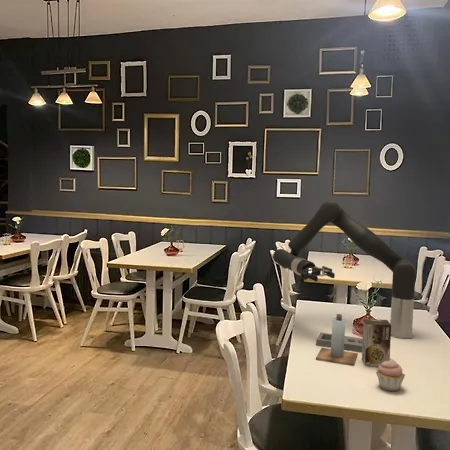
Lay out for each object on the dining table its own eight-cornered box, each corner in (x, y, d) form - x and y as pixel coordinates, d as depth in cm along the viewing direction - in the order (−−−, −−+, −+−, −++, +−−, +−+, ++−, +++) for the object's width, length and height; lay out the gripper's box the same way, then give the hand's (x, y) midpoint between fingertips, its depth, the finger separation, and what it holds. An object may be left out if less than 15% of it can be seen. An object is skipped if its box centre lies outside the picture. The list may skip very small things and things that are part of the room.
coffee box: (385, 361, 181) (387, 319, 179) (389, 367, 174) (392, 324, 173) (360, 359, 182) (363, 318, 180) (364, 366, 175) (366, 323, 174)
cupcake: (380, 379, 164) (382, 350, 163) (408, 387, 158) (410, 357, 157) (370, 387, 157) (371, 358, 156) (398, 396, 151) (400, 366, 150)
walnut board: (357, 355, 186) (357, 353, 186) (353, 365, 175) (353, 363, 175) (321, 349, 191) (321, 347, 191) (315, 359, 180) (315, 357, 180)
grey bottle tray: (371, 345, 198) (371, 338, 197) (368, 353, 188) (369, 345, 188) (320, 338, 205) (320, 331, 205) (315, 345, 196) (316, 338, 196)
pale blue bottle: (344, 354, 184) (346, 313, 183) (342, 358, 180) (344, 317, 178) (331, 352, 186) (333, 312, 184) (329, 356, 182) (331, 315, 180)
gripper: (289, 261, 208) (311, 271, 194) (316, 257, 214) (339, 266, 200) (289, 278, 210) (311, 288, 195) (316, 273, 215) (339, 283, 201)
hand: (325, 277), depth 197 cm, fingers open, 8 cm apart
